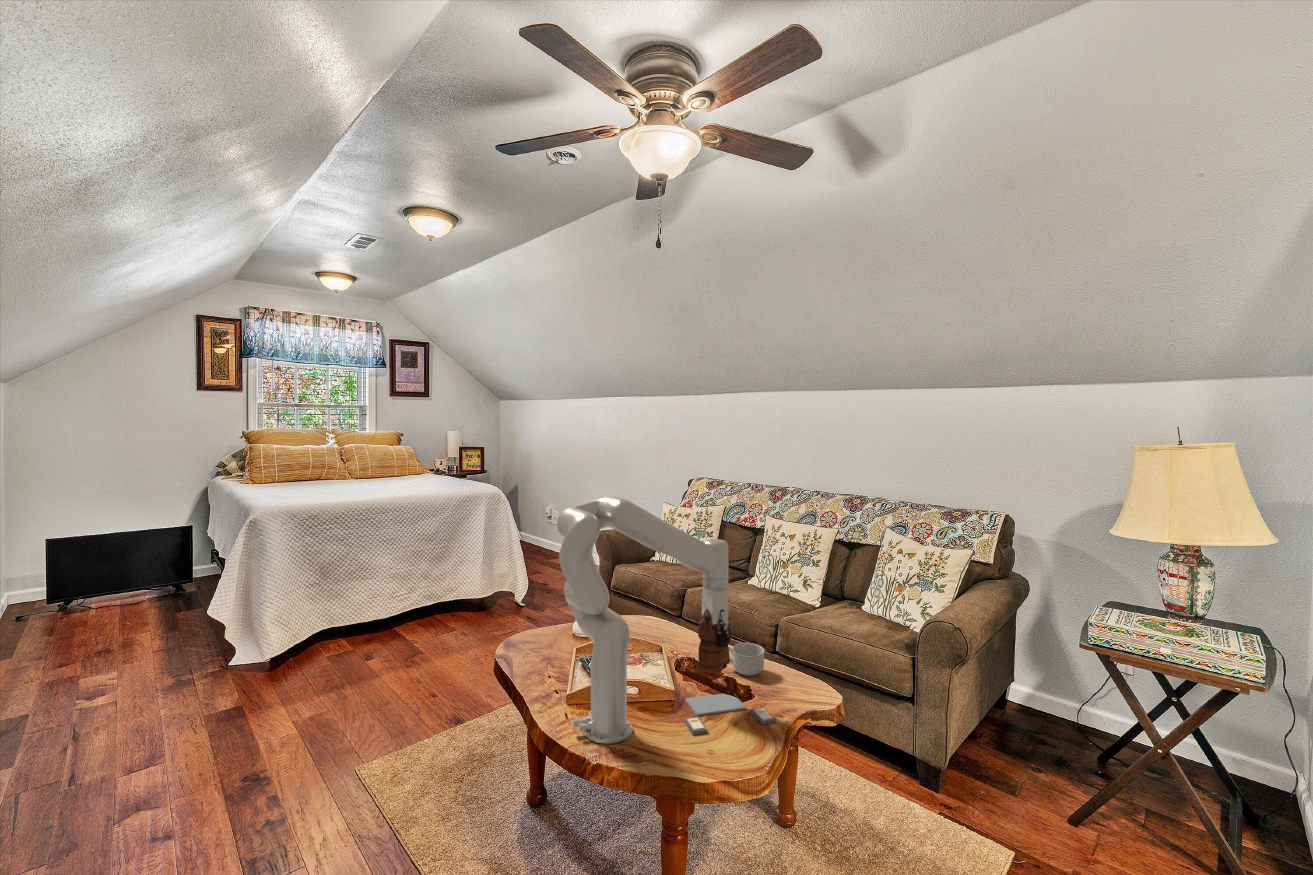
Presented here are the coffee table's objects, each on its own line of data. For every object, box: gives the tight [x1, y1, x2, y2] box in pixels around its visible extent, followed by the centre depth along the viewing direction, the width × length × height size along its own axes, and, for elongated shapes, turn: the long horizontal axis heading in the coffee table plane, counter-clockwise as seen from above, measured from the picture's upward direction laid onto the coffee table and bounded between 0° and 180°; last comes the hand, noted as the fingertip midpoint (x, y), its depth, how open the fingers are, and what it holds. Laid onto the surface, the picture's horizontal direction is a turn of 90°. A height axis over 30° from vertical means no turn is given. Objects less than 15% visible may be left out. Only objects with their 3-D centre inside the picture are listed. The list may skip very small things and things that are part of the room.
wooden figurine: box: [697, 609, 732, 674], centre depth 169 cm, size 12×6×18 cm, turn 145°
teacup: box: [728, 642, 766, 677], centre depth 193 cm, size 14×11×8 cm
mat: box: [685, 693, 747, 717], centre depth 169 cm, size 15×10×1 cm, turn 106°
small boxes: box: [683, 707, 777, 736], centre depth 159 cm, size 24×7×1 cm, turn 106°
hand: (715, 641), depth 169 cm, fingers closed on wooden figurine, 8 cm apart
